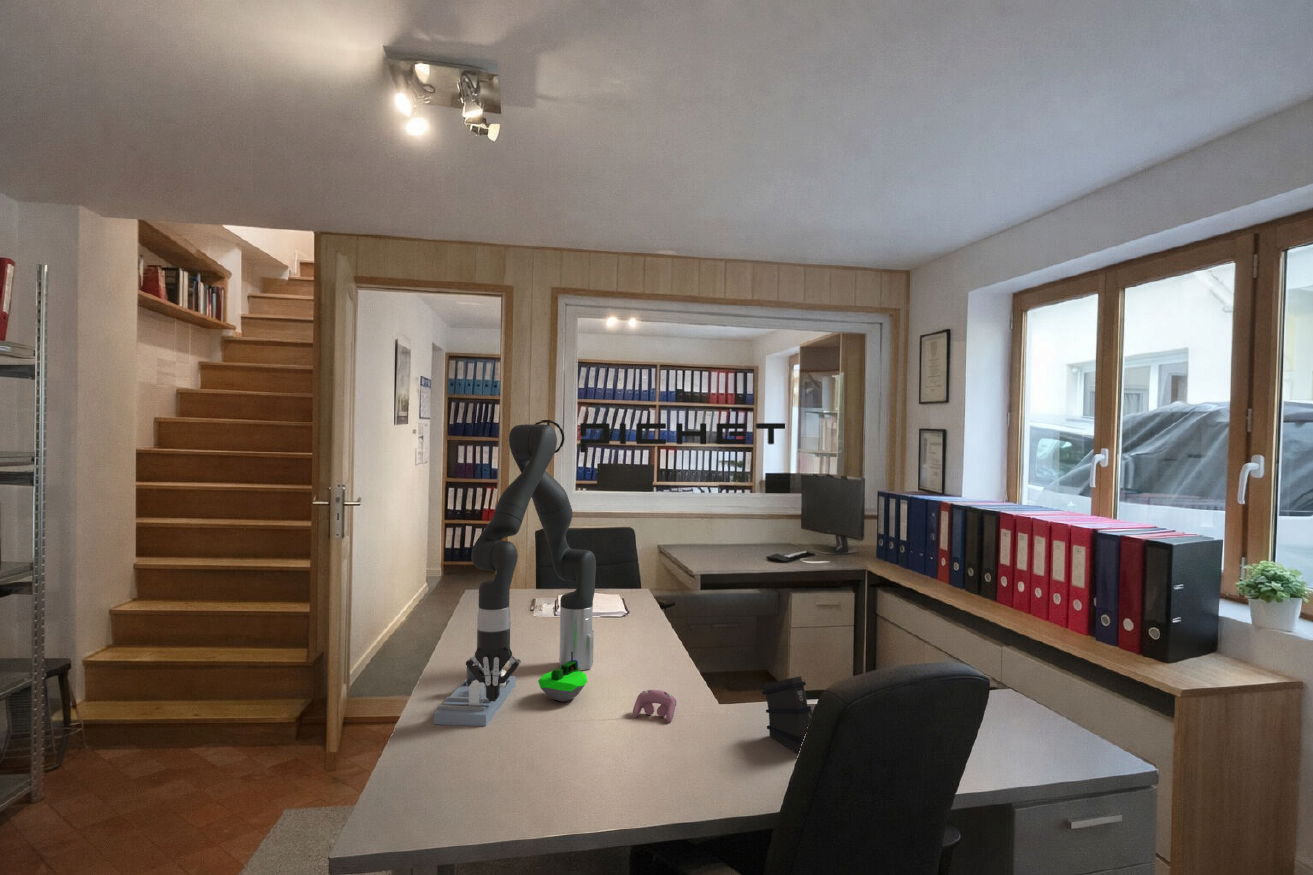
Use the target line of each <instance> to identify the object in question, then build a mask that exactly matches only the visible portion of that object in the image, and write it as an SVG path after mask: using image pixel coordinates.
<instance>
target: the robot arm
mask: <svg viewBox="0 0 1313 875" xmlns="http://www.w3.org/2000/svg"><path fill="white" fill-rule="evenodd" d="M508 443H509V448H510V452H511V456H512V457H513V460H514V462H515V464H516V465H517V467H518V470H519V472H520V474H519V475H517V477H516V478H515V479H514V480H513V481H512V482H511V483H510V484H509V485H508V486H507V487H506V488H505V490H504V491H503V492H502V494H501V496H500V497H499V498H498V501H497V504H496V507H495V510H494V511H493V514H492V518H491V520H490V521H489V522H488V524H487V525H486V526H485V528H484V529H483V531H482V532H481V534H480V535H479V536H478V538H477V539H476V541H475V542H474V545H473V547H472V550H471V555H470V556H471V562H472V564H473V566H474V567H476V568H475V569H478V570H484V571H491V572H492V571H495V576H494V578H493V579H488V580H484V581H482V582H481V583H480V584H479V586H478V610H477V611H478V612H477V615H476V616H477V619H476V620H477V622H476V650H475V652H474V656H473V657H470V658H468V659H467V660H466V661H465V665H466V668H467V667H468V668H469V670H470V671H471V672H472V674H473V675H474V676H475V678H476V679H477V680H478V682H480V683H481V682H482V683H484V684H486V698H487V699H488V701H496V699H497V698H498V697H499V695H500V684H501V683H505V682H506V681H507V679H508V678H509V677H510V676H512V674H513V673H514V672H515V671H516V669H517V668H518V666H520V664H521V660H520V658H518V659H517V658H515V657H514V656H513V652H512V650H511V624H512V620H511V609H510V592H511V591H510V590H511V584H512V580H513V576H514V573H515V569H516V567H517V562H518V556H519V555H518V549H517V547H516V545H515V544H514V543H513V542H512V541H509V540H503V539H505V538H508V537H513V536H515V535H517V534H518V533H519V532H520V529H521V526H522V523H523V521H524V517H525V515H526V511H527V510H528V506H529V503H530V501H531V499H532V502H533V505H534V508H535V511H536V515H537V517H538V519H539V522H540V524H541V527H542V529H543V532H544V536H545V538H546V541H547V544H548V549H549V552H550V553H549V554H550V555H551V556H550V557H551V562H552V566H553V569H554V571H555V574H556V576H557V577H558V579H560V580H562V581H564V582H572V583H576V588H575V590H573V591H570V592H566V593H565V594H562V595H561V596H560V601H559V602H560V604H559V606H560V608H559V610H560V611H559V659H558V660H559V666H558V667H559V669H561V665H562V664H564V663H566V662H568V661H570V660H571V652H573V660H577V661H578V667H579V668H580V669H579V671H583V670H584V671H585V670H591V668H592V666H593V665H594V639H595V638H594V636H595V634H594V632H595V631H594V630H593V618H594V617H593V615H594V612H593V610H594V598H595V590H596V574H597V573H596V572H597V571H596V570H597V559H596V556H595V554H594V552H593V551H591V550H588V549H577V548H571V547H570V546H569V544H568V542H567V537H566V536H567V533H568V530H569V528H570V525H571V522H572V519H573V509H572V505H571V502H570V499H569V496H568V493H567V491H566V489H564V487H563V486H562V485H561V483H559V482H558V481H557V480H556V479H555V478H554V476H552V475H551V474H549V472H547V469H548V467H549V465H550V463H551V461H552V459H553V457H554V455H555V452H556V449H557V445H558V435H557V433H556V429H555V428H554V427H553V426H551V425H548V424H543V423H542V424H541V423H537V424H534V423H533V424H531V423H529V424H524V423H523V424H518V425H517V424H516V425H515V426H513V427H512V428H511V430H509V436H508ZM477 660H478V661H477ZM478 662H479V663H480V665H481V666H482V668H483V669H484V672H483V671H482V670H481V668H480V667H479V666H478ZM507 663H508V667H509V668H508V670H506V673H505V675H504V676H501V672H502V670H503V668H504V667H506V664H507Z"/></svg>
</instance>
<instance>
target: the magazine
mask: <svg viewBox="0 0 1313 875" xmlns="http://www.w3.org/2000/svg"><path fill="white" fill-rule="evenodd" d="M806 685H807V684H806V681H803V679H802V676H795V677H790V678H789V677H788V678H786V679H782V680H779V681H775V682H770V683H767V684H766V683H765V684H763V689H764V690H762V691H761V694H762V696H763V695H765V699H766V703H767V709H766V710H765V713H766V714H768V721H769V724H768V725H767V726H766V729H767V730H768V731H769V737H771V738H772V739H774V740H775V741H777V742H779V743H780V744H782V745H783V746H785V747H787V748H788V749H790V750H791V751H793V752H795V753H796V754H798V753H799V751H800V748H801V744H802V742H803V739H804V736H805V734H806V732H807V727H808V724H809V721H811V720H810V714H809V712H811V711H812V709H811V705H808V700H807V694H806V691H805V686H806Z"/></svg>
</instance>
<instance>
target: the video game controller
mask: <svg viewBox="0 0 1313 875" xmlns="http://www.w3.org/2000/svg"><path fill="white" fill-rule="evenodd" d="M653 704H659V706H658V707H657V709H656V714H657V715H658V716H659V717H661V718H664V717H666V722H667V723H668V724H669V723H671V722H672V720H673V719H674V715H675V712H676V706H677V699H676V698H675V697H674V696H673V695H672V694H670V693H669V692H666V691H663V690H660V689H648V690H642V691H641V692H640V693H639V694H638V695H637V697H636V700H635V703H634V706H633V710H632V716H633V718H634V719H636V718H637V717H639V715H640V714H641V712H642V709H643V710H644V713H645V715H649V716H651V715H653V714H654V713H655V707H654V705H653Z"/></svg>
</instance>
